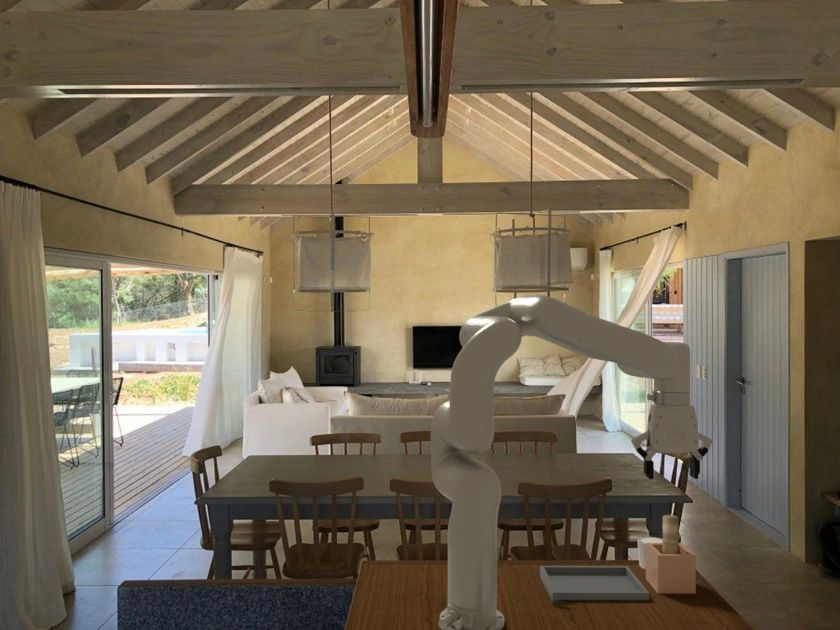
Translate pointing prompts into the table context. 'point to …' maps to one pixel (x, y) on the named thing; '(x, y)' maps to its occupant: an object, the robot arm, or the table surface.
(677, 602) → the table surface
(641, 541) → the cream short cylinder
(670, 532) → the dowel
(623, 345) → the robot arm
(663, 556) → the holder
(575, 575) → the tray
